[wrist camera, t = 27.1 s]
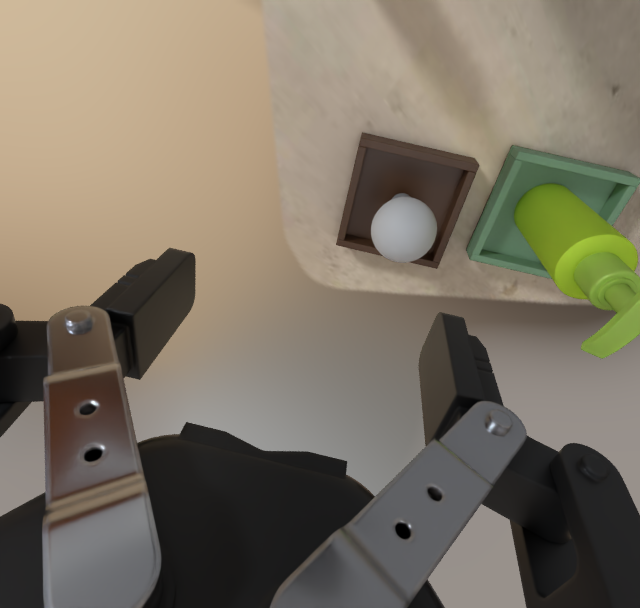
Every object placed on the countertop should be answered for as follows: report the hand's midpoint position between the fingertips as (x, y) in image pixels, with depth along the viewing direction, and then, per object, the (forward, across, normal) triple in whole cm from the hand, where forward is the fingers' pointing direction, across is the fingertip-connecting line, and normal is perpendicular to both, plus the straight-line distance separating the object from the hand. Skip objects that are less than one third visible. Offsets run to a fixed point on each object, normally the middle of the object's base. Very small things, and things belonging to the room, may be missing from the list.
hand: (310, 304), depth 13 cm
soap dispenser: (+34, -21, +5) cm, 40 cm away
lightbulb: (+34, -6, +7) cm, 35 cm away
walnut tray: (+34, -6, +7) cm, 35 cm away
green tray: (+34, -21, +5) cm, 40 cm away
